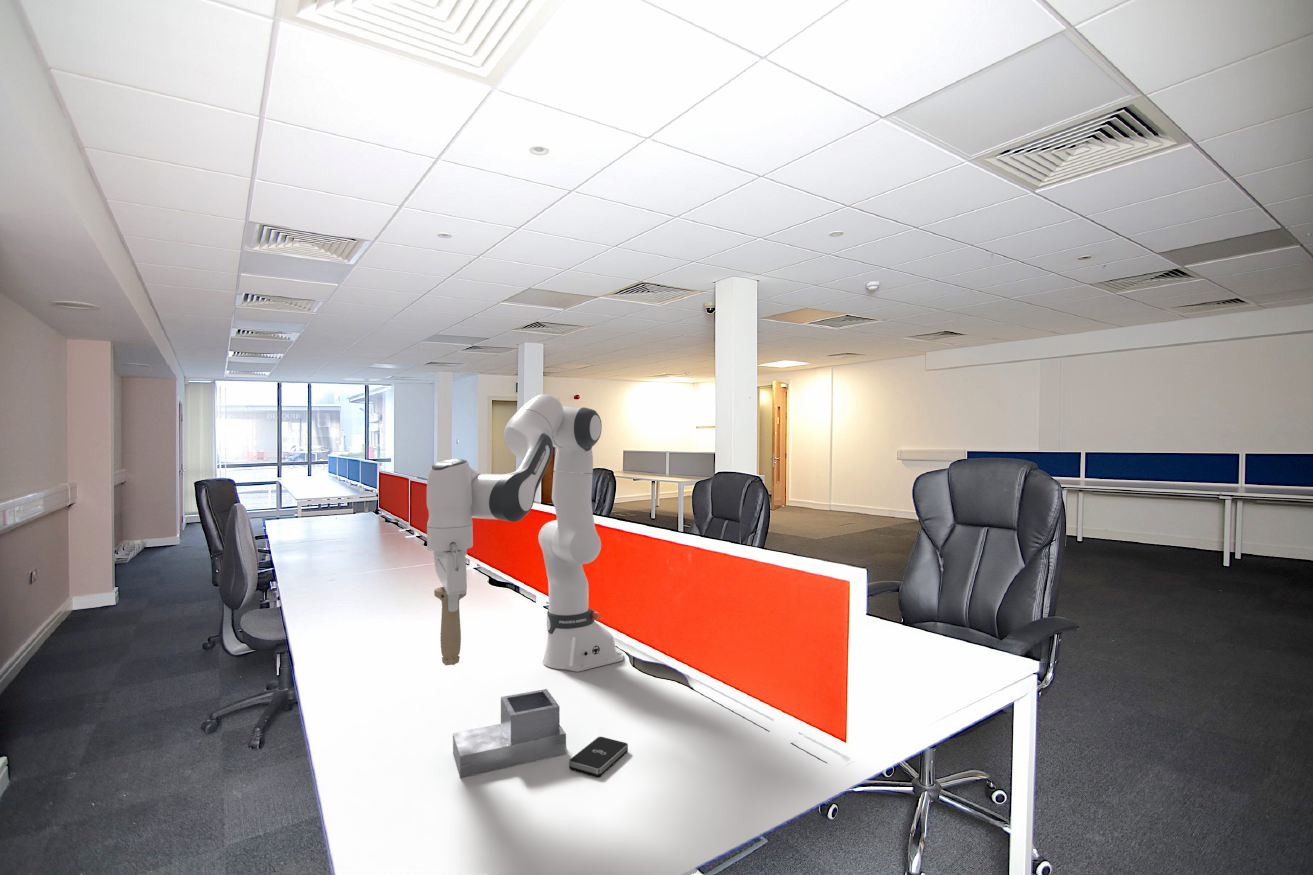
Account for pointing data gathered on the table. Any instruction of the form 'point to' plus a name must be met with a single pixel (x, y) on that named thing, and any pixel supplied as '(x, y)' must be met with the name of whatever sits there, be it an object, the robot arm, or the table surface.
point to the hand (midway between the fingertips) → (451, 607)
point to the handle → (449, 629)
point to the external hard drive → (598, 756)
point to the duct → (512, 736)
